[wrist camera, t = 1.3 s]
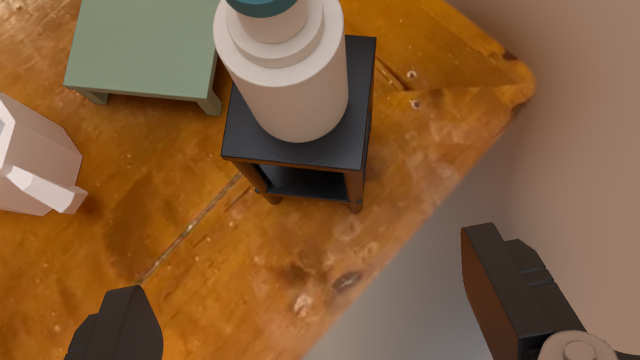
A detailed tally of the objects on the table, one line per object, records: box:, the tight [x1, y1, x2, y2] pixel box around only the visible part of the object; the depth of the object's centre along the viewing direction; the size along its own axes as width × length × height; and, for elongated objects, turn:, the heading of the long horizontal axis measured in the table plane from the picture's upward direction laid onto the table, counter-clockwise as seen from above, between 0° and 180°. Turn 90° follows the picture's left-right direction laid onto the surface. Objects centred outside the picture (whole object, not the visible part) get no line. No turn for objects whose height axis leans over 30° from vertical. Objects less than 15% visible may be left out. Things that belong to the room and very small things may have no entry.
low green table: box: [63, 0, 222, 116], centre depth 49 cm, size 12×12×5 cm
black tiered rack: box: [221, 35, 376, 214], centre depth 40 cm, size 8×8×16 cm
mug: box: [0, 92, 88, 216], centre depth 44 cm, size 12×9×10 cm
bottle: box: [213, 0, 348, 143], centre depth 26 cm, size 6×6×13 cm
